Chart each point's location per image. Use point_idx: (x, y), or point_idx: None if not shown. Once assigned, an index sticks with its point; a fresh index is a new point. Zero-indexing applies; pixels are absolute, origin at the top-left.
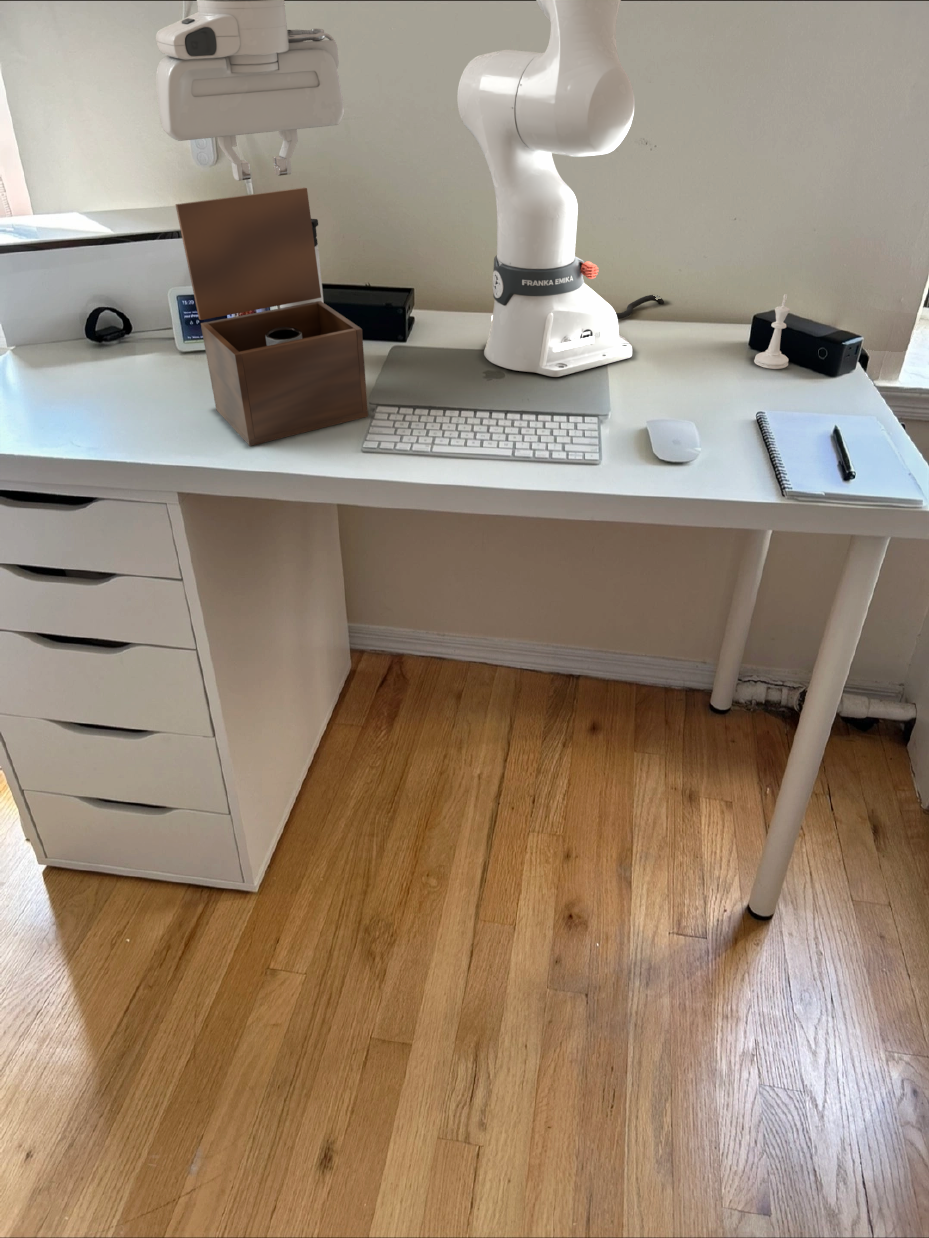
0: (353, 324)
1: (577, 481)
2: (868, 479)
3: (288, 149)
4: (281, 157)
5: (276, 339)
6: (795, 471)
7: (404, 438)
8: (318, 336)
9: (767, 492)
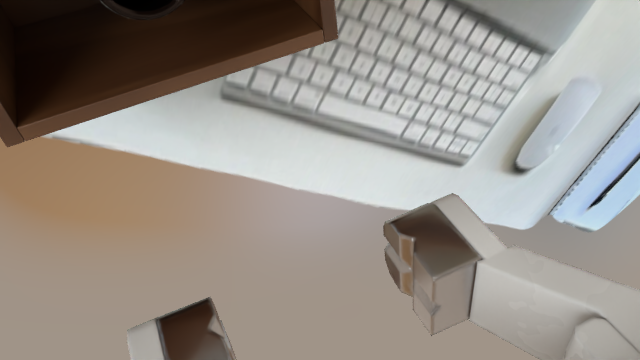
0: (331, 5)
1: (425, 194)
2: (602, 206)
3: (521, 348)
4: (465, 301)
5: (119, 13)
6: (578, 191)
7: (295, 64)
8: (232, 66)
9: (535, 219)
